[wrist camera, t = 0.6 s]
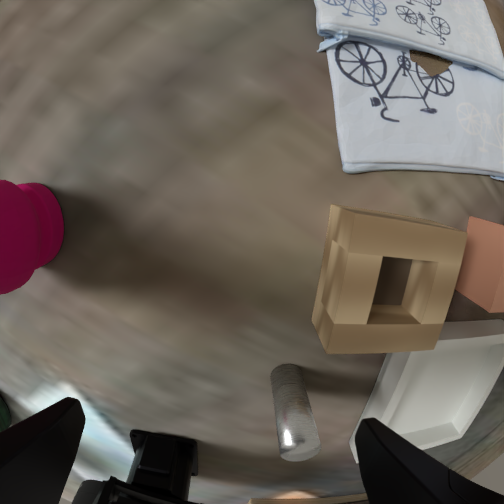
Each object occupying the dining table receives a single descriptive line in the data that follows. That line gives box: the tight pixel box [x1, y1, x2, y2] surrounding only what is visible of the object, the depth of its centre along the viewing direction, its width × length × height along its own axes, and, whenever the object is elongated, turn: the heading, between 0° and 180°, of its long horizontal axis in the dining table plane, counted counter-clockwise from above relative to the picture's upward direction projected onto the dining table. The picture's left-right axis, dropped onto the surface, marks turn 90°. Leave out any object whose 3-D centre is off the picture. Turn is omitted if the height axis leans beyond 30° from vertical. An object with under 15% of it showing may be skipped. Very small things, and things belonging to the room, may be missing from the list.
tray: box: [349, 319, 504, 463], centre depth 21 cm, size 14×14×3 cm
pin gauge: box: [270, 364, 321, 461], centre depth 18 cm, size 2×2×8 cm
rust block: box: [455, 216, 504, 313], centre depth 17 cm, size 6×6×5 cm
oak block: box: [311, 204, 468, 354], centre depth 17 cm, size 8×8×4 cm
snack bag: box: [314, 0, 504, 181], centre depth 15 cm, size 19×20×2 cm
